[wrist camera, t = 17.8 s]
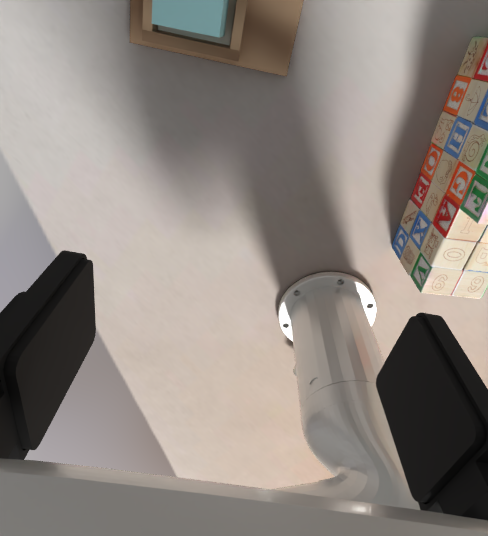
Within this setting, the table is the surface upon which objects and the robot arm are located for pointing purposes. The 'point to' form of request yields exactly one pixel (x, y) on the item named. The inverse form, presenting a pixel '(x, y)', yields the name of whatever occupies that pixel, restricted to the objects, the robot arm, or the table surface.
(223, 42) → the chassis
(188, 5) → the teal nearly cubic block
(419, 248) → the stack of blocks
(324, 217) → the table surface
